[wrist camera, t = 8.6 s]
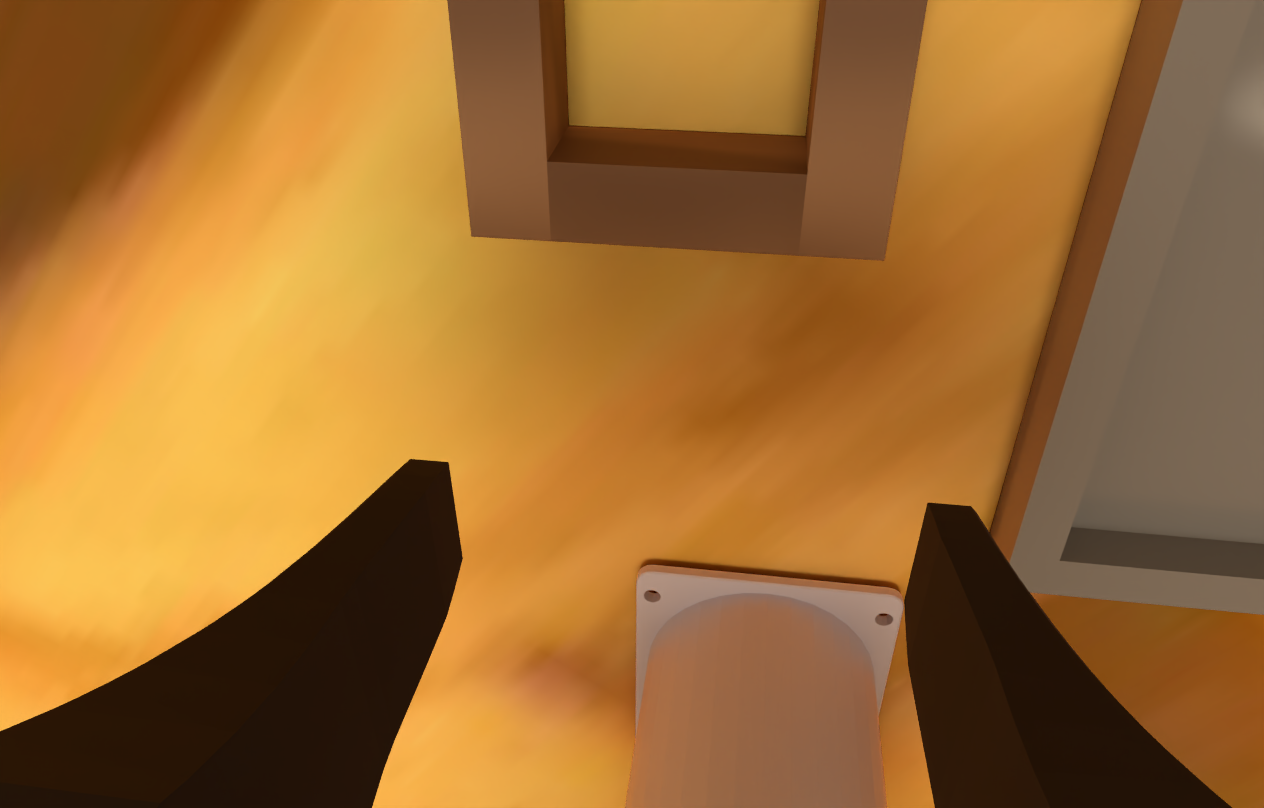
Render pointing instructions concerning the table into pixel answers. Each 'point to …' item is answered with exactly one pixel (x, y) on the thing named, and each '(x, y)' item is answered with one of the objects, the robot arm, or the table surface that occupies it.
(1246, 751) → the table surface
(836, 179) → the socket block
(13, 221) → the table surface
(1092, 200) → the tray
